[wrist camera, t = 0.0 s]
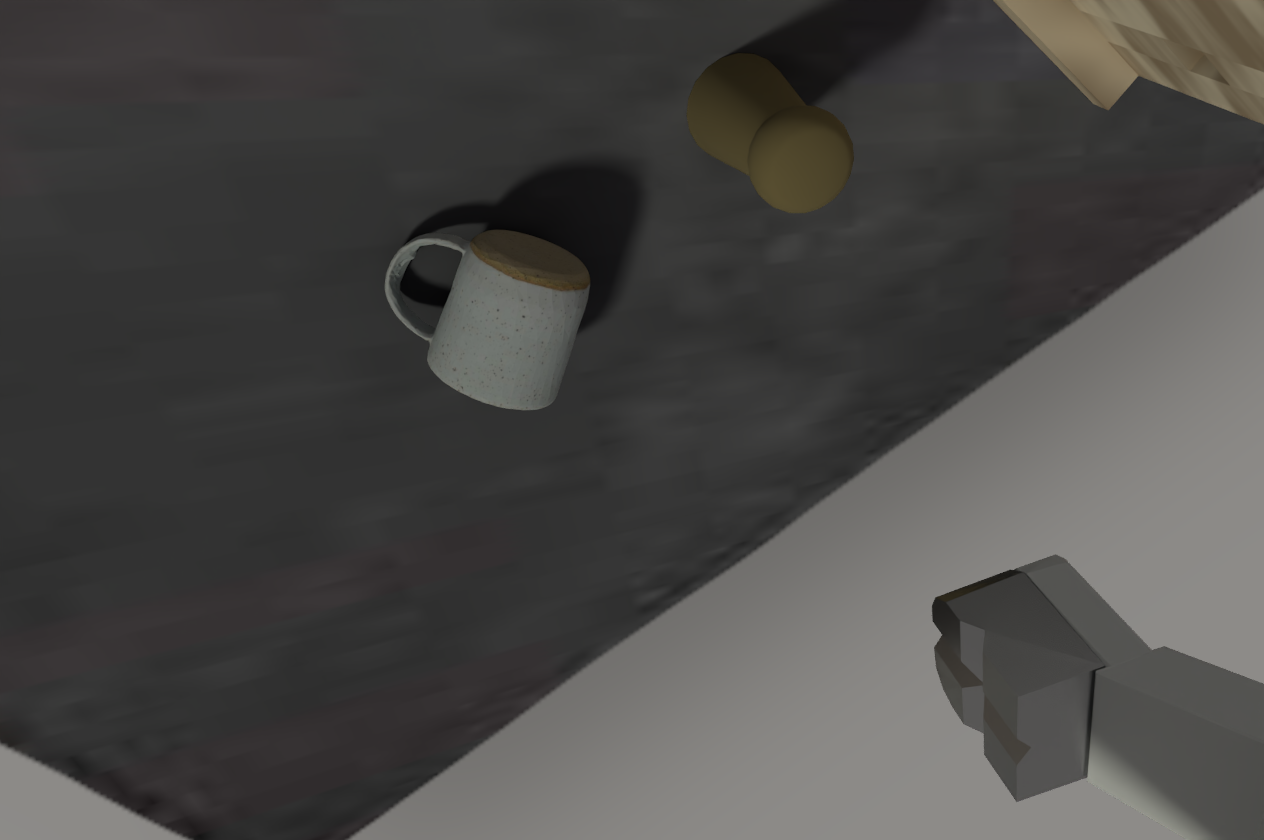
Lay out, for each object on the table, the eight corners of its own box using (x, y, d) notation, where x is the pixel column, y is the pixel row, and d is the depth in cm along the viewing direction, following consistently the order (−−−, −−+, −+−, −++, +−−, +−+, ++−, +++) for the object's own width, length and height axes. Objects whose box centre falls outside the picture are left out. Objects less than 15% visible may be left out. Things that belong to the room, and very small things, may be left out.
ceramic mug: (584, 240, 61) (613, 295, 54) (542, 361, 64) (565, 426, 58) (403, 194, 57) (412, 248, 51) (370, 325, 60) (374, 391, 54)
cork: (688, 166, 60) (754, 239, 51) (684, 59, 57) (755, 117, 48) (786, 152, 61) (868, 221, 52) (789, 46, 58) (877, 100, 49)
